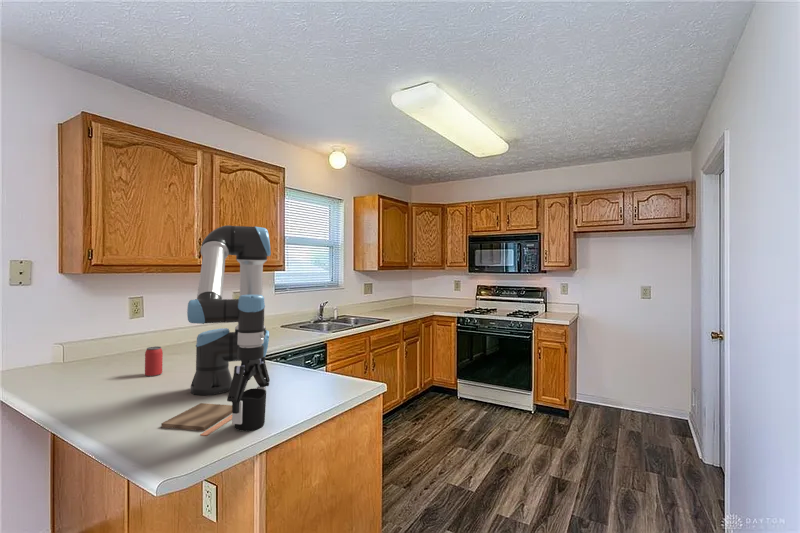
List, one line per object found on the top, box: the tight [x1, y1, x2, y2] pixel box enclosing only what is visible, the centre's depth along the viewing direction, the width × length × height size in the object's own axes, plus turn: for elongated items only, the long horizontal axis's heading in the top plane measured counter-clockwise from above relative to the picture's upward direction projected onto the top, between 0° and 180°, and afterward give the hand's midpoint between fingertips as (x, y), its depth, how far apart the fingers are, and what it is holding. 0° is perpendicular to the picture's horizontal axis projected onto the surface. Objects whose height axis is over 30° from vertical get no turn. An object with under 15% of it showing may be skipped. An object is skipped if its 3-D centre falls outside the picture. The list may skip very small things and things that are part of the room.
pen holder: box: [233, 387, 267, 432], centre depth 120 cm, size 9×9×10 cm
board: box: [161, 402, 232, 432], centre depth 125 cm, size 14×18×1 cm
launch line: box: [200, 414, 232, 437], centre depth 124 cm, size 2×24×1 cm, turn 171°
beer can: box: [144, 346, 164, 377], centre depth 174 cm, size 7×7×12 cm
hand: (249, 415), depth 120 cm, fingers open, 13 cm apart
